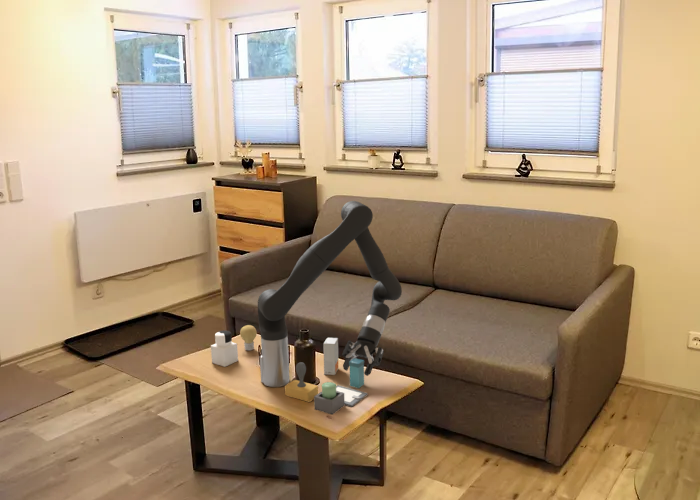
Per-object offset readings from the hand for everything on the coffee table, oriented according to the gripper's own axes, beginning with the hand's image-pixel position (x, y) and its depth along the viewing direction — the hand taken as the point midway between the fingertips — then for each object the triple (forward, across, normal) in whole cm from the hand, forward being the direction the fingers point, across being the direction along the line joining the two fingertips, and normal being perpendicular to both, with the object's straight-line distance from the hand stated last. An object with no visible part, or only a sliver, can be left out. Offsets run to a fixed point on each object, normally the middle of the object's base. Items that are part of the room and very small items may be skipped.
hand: (355, 372), depth 226 cm
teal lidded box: (+3, 0, +4) cm, 5 cm away
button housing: (+16, +1, -9) cm, 18 cm away
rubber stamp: (+15, -12, -7) cm, 20 cm away
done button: (+13, +1, -12) cm, 18 cm away
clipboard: (+10, +1, -3) cm, 10 cm away
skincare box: (0, -14, +8) cm, 16 cm away
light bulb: (-1, -54, +9) cm, 55 cm away
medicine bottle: (+9, -54, -1) cm, 55 cm away
